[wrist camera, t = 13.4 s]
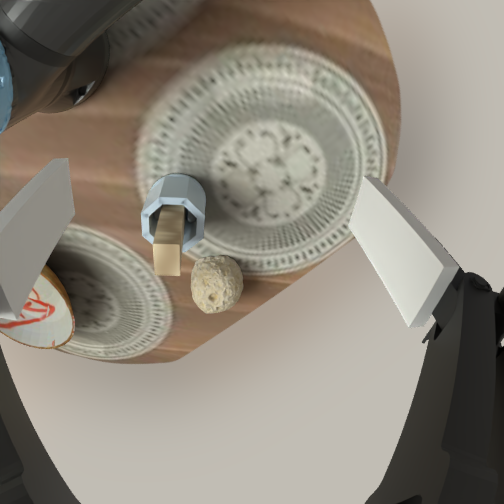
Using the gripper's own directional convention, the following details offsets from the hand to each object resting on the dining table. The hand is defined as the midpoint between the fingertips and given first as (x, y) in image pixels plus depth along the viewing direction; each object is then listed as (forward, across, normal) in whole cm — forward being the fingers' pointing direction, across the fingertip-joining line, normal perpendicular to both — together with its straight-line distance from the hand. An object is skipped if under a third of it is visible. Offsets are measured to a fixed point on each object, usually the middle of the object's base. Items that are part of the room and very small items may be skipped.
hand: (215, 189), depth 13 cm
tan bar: (+31, -4, -17) cm, 36 cm away
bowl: (+32, -35, -35) cm, 59 cm away
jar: (+32, -4, -17) cm, 36 cm away
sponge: (+32, +3, -31) cm, 45 cm away
